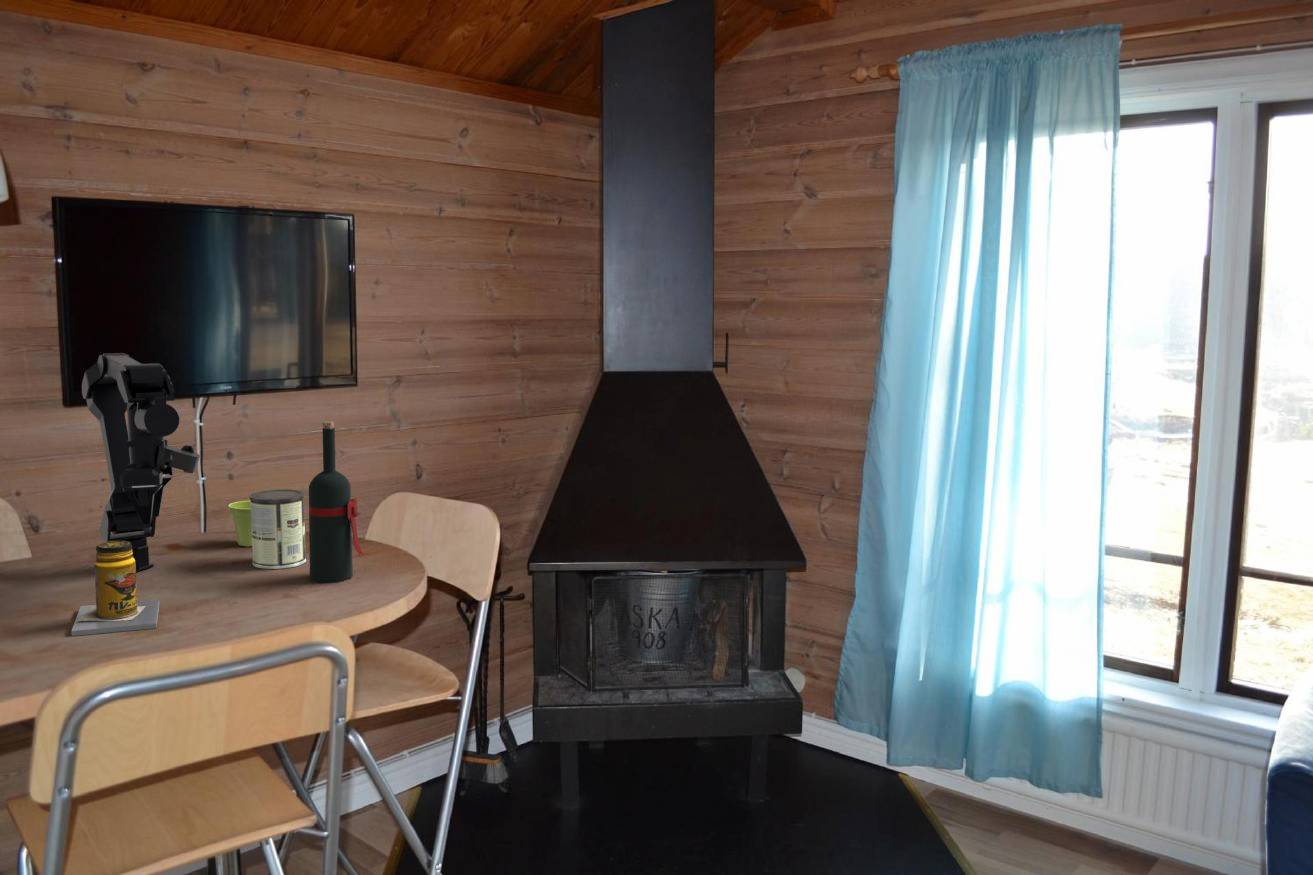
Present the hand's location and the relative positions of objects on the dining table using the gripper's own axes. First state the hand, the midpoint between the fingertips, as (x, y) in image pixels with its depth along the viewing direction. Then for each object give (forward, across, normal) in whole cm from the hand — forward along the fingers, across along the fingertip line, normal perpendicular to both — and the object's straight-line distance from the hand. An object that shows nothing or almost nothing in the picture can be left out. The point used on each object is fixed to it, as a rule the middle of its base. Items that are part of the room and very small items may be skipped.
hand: (151, 520), depth 189 cm
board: (+14, -17, +3) cm, 22 cm away
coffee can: (+12, +16, -20) cm, 28 cm away
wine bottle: (+14, +2, -31) cm, 34 cm away
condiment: (+13, -17, +4) cm, 22 cm away
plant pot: (+11, +33, -14) cm, 38 cm away
